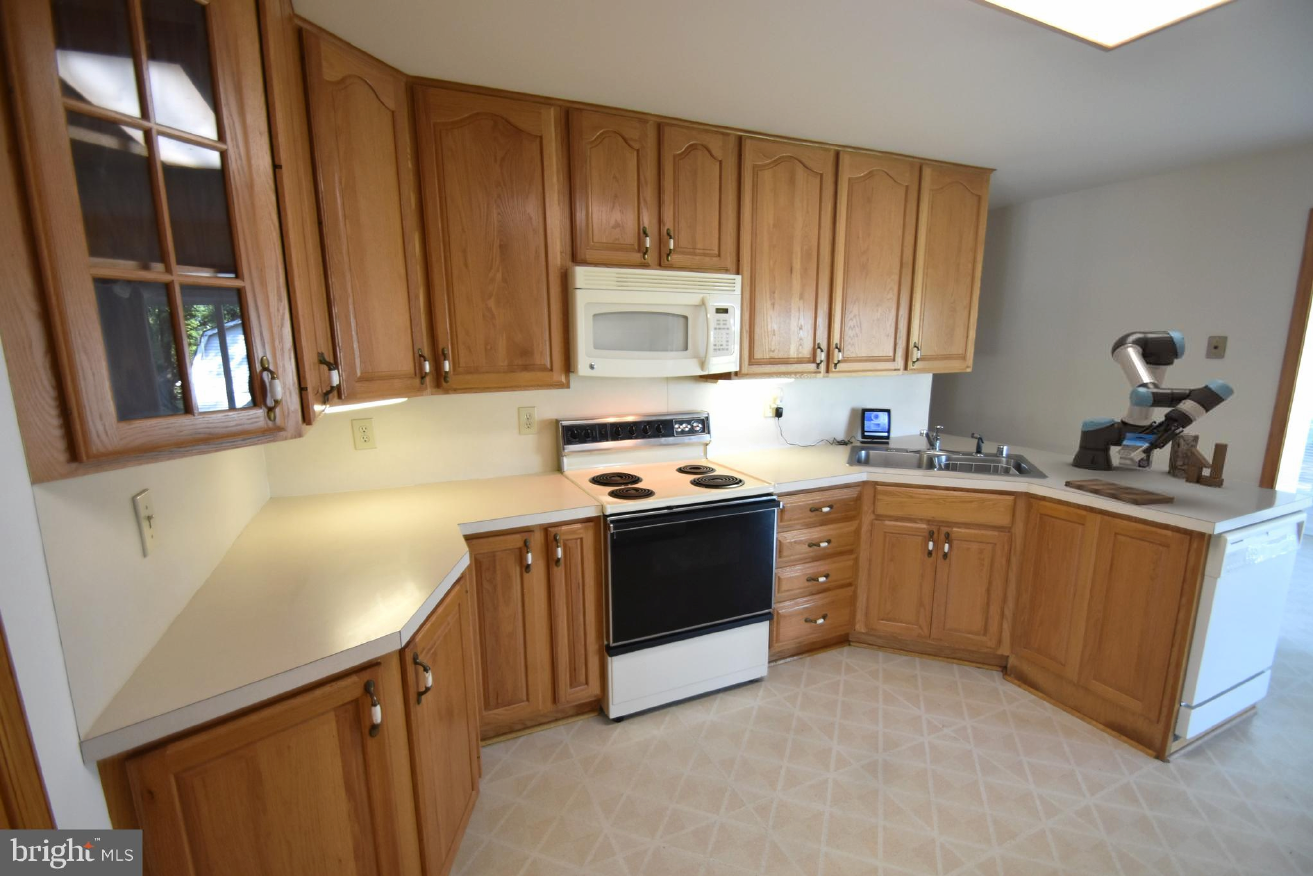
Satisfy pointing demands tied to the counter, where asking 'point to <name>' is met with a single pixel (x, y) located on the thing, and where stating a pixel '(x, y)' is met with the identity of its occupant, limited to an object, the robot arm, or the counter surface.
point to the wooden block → (1207, 466)
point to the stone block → (1182, 453)
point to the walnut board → (1119, 492)
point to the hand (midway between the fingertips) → (1125, 455)
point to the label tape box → (1132, 446)
